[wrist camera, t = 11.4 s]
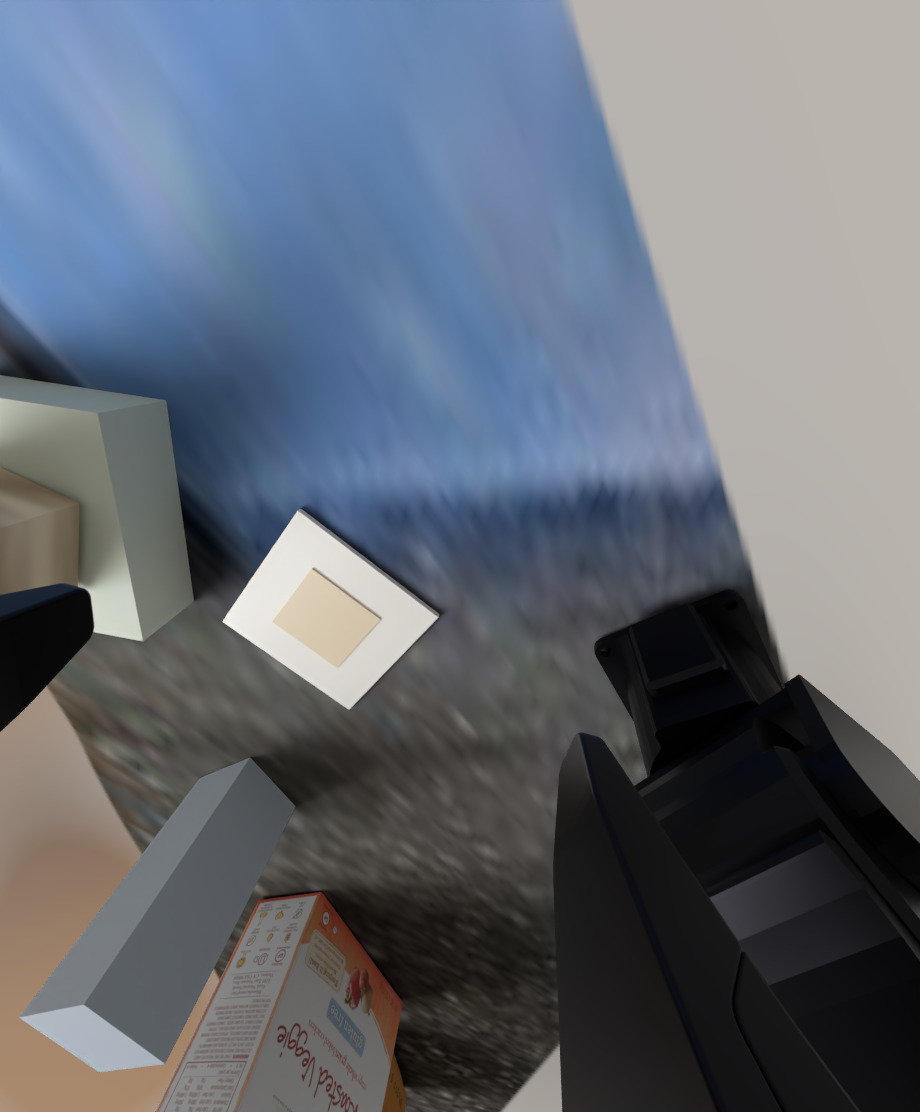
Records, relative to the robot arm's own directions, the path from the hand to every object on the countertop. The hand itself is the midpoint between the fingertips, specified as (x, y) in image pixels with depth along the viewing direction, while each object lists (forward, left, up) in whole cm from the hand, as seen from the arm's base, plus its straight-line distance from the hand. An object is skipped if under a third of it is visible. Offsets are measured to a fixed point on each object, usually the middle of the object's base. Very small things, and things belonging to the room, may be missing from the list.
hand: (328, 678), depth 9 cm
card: (-3, +9, -13) cm, 16 cm away
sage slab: (+7, +15, -13) cm, 21 cm away
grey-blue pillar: (-11, +22, -13) cm, 28 cm away
